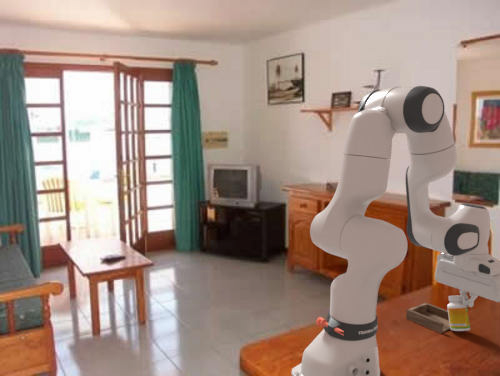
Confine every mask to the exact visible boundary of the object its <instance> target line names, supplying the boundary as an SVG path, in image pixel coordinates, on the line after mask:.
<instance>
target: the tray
mask: <svg viewBox="0 0 500 376" xmlns="http://www.w3.org/2000/svg"><path fill="white" fill-rule="evenodd" d="M405 316H406V317H405V318H407V319H406V320H409V321H411V322H414V323H416V324H418V325H421V326H423V327H426V328H428V329H430V330H433V331H435V332H437V333H439V334H443V333H445V332H447V331H450V330H451V329H450V324H449V316H448V309H445V308H442V307H439V306H437V305H434V304H431V303H428V302H424V303H421V304H418V305H416V306H414V307H410V308H408V309H406V315H405Z"/></svg>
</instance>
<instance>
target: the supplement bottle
mask: <svg viewBox="0 0 500 376" xmlns="http://www.w3.org/2000/svg"><path fill="white" fill-rule="evenodd" d="M448 301H449V303H448V304H447V305H446V307H447V309H446V310H447V311H448V316H449V324H450V330H451V331H454V332H469V331H471V323H470V317H469V311H468V306H465V305H463V299H462V297H461V295H448Z"/></svg>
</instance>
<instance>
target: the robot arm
mask: <svg viewBox="0 0 500 376" xmlns="http://www.w3.org/2000/svg"><path fill="white" fill-rule="evenodd" d="M357 108H358V109H357V113H355V114H354V115H353V116H352V118H351V120H350V122H349V125H348V128H347V132H346V135H345V136H346V137H345V140H344V143H343V149H342V150H343V151H342V152H343V153H342V158H341V163H340V164H341V166H340V172H339V177H338V178H339V179H338V182H337V186H336V189H335V192H334V195H333V197H332V199H330V201H329V203H328V205H327V206H326V207H325V208H324V209H323V210H322V211H321V212H319V213H317V214H316V215H315V216H314V217H313V220H312V221H311V224H310V228H309V237H310V239H311V242H312V243H313V244H314V245H315V246H316V247H317V248H319V249H321V250H322V251H324V252H325V253H328V254H330V255H333V256H336V257H340V258H342V259H344V260H345V259H346V260H347V269H346V272H344V273H342V274H341V273H340V274H339V275H337V277H335V278H334V279H333V281H332V282H331V284H330V291H329V292H330V295H329V296H330V299H329V310H328V313H327V315H326V319H324V318H323V317H321V316H319V317H317V319H316V321H315V323H316V325H318V326H319V327H321V328H323V329H322V330H321V331H320V333H318V335H316V337H315V338H314V339H313V340H312V341H311V343H309V345H308V346H306V348H305V349H304V351H303V353H302V359H301V362H300V363H299V364H297V365H296V366H294V367H292V368H291V373H290V374H291V376H381V368H380V358H379V357H380V356H379V348H378V343H377V336H376V334H377V333H378V326H379V323H378V316H377V304H378V295H379V288H380V285H381V282H382V280H383V278H384V277H385V276H386V274H387V273H389V272H390V271H391V270H393V269H396V268H397V267H398V266H400V265H401V264H402V262H403V261H404V260H405V258H406V256H407V254H408V253H407V252H408V243H409V242H408V240H409V241H410V243H412V244H413V245H414V246H417V247H420V248H421V247H422V248H426V249H430V250H433V251H436V252H438V255H437V258H436V262H437V263H436V266H435V273H434V279H435V281H436V282H437V283H438V284H442V285H444V286H448V287H451V288H454V289H458V290H459V291H458V292H459V296H461V297H462V299H463V305H465V306H467V308H468V307H469V308H472V307H474V303H475V300H476V299H477V298H478V297H481V298H483V299H487V300H491V301H493V302H496V303H500V260H499V259H497V258H496V257H494V256H492V255H491V254H489V252H490V251H489V246H488V244H489V243H488V242H489V240H490V236H491V235H490V232H491V218H490V212H489V209H488V208H486V207H485V206H483V205H480V204H479V205H477V204H472V203H467V202H466V203H465V202H464V203H460V204H458V207H457V210H456V211H455V212H454V213H453V214H452V215H450V216H447V217H444V216H440V215H436V213H434V212H433V211H432V210H431V209H430V199H429V185H430V183H432V182H436V181H438V180H440V179H442V178H444V177H446V176H447V175H449V173H451V172H452V171H453V169H454V168H455V166H456V164H457V149H456V146H455V139H454V135H453V131H452V128H451V124H450V121H449V119H448V116H447V114H446V112H445V102H444V99H443V97H442V96H441V94H440V92H439V91H438V90H437V89H435V88H433V87H431V86H430V87H429V86H426V85H418V86H417V85H416V86H394V87H389V88H384V89H375V90H373V91H370V92H368V93H367V94H365V95H364V96H362V99H361V100H360V102H359V105H358V107H357ZM396 134H405V136H406V142H407V148H408V153H409V165H408V167H407V168H406V171H405V191H406V195H405V196H406V206H407V207H406V208H407V221H406V223H407V224H406V234H407V235H406V234H405V232H404V230H403V229H402V228H400V227H398V226H396V225H394V224H392V223H390V222H388V221H385V220H383V219H378V218H373V217H368V216H365V214H366V212H367V208H368V207H369V205H370V204H371V203H372V202H373V201H375V200H377V199H379V198H381V197H382V196H384V194H385V193H386V191H387V188H388V182H389V174H390V167H391V159H392V147H393V138H394V136H395V135H396ZM407 237H408V238H407ZM407 239H408V240H407ZM468 294H469V296H468ZM469 297H470V298H469Z"/></svg>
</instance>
